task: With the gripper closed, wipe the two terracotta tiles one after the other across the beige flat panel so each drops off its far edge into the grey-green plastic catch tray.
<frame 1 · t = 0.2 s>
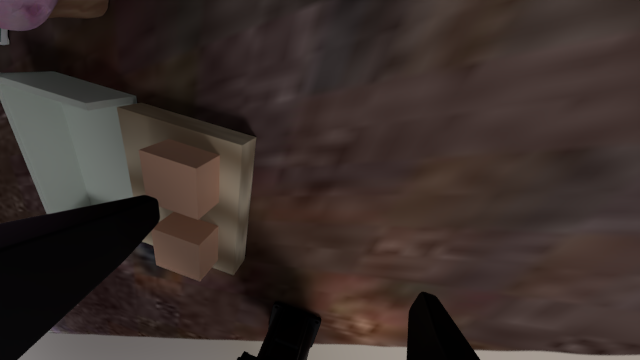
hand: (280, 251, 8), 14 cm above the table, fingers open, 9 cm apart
beige flat panel: (199, 190, 27), on the table
catch tray: (110, 160, 28), on the table
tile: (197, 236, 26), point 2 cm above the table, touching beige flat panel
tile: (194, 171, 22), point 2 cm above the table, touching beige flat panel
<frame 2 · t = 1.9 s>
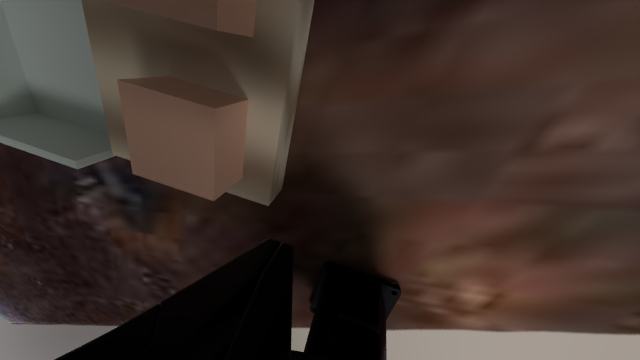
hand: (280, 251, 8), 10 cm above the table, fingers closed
beige flat panel: (210, 52, 15), on the table
catch tray: (59, 11, 16), on the table
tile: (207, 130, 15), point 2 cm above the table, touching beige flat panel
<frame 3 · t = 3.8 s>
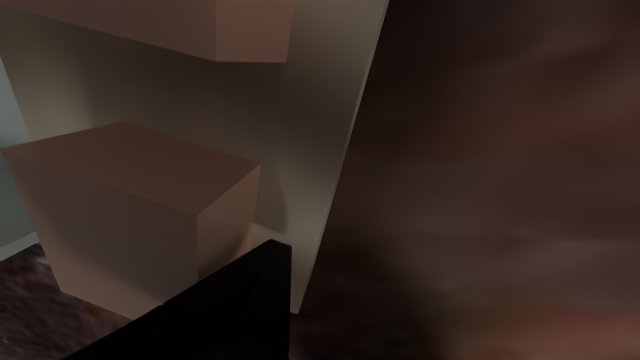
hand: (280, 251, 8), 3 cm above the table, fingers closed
beige flat panel: (207, 80, 10), on the table
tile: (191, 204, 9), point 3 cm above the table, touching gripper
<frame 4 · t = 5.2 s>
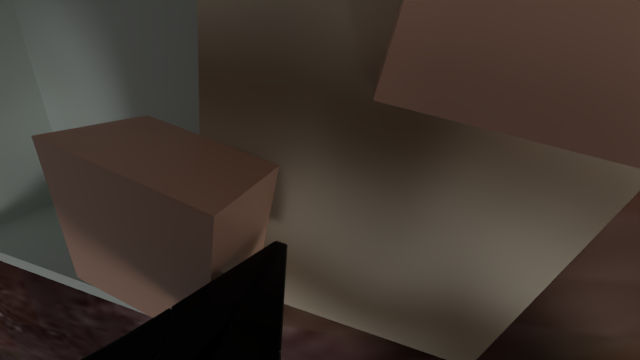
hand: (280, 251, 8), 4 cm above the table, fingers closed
beige flat panel: (388, 128, 9), on the table
catch tray: (122, 57, 10), on the table
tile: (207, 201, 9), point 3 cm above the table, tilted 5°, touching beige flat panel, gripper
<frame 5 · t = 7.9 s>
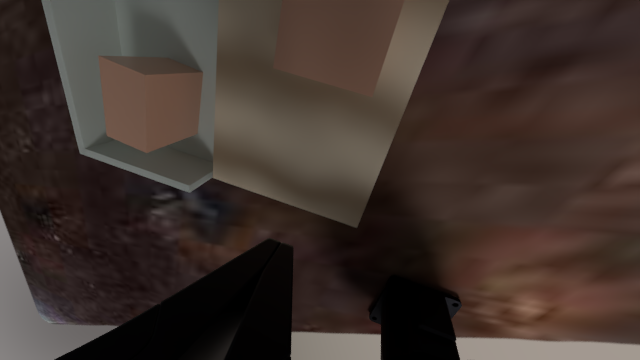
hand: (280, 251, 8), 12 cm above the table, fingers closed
beige flat panel: (313, 93, 17), on the table
catch tray: (173, 51, 18), on the table
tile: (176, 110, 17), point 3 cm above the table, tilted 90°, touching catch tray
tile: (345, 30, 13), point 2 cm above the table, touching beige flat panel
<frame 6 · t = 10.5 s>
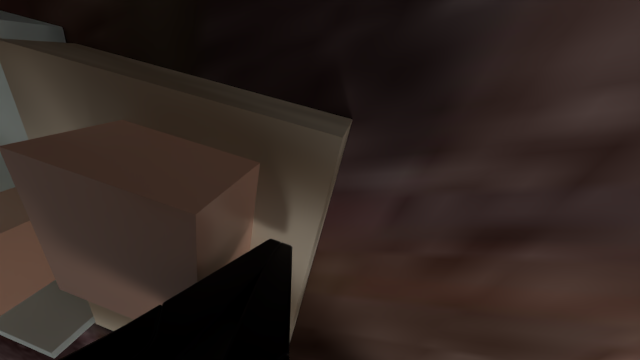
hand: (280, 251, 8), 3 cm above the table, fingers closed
beige flat panel: (206, 233, 13), on the table
catch tray: (35, 173, 14), on the table
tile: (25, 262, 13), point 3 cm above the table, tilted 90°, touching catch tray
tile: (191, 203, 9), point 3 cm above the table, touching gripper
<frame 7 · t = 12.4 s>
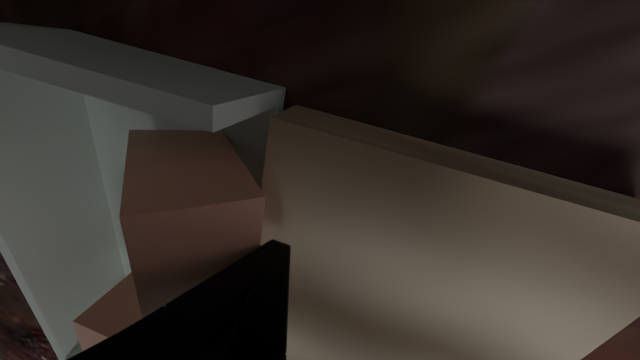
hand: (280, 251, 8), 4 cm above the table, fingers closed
beige flat panel: (380, 293, 12), on the table
catch tray: (182, 224, 14), on the table
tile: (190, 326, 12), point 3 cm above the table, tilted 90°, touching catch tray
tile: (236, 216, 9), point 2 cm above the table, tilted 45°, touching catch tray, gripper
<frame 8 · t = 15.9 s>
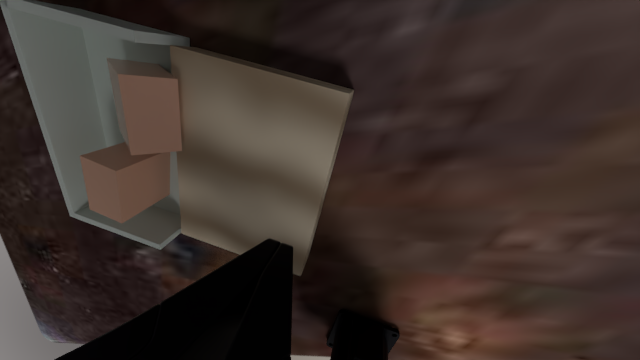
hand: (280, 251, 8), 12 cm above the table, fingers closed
beige flat panel: (260, 167, 21), on the table
catch tray: (145, 131, 22), on the table
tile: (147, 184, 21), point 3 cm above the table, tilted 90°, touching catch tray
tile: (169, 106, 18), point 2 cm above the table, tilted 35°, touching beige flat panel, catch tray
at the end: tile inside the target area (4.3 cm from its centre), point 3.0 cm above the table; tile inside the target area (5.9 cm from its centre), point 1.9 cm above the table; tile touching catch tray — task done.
